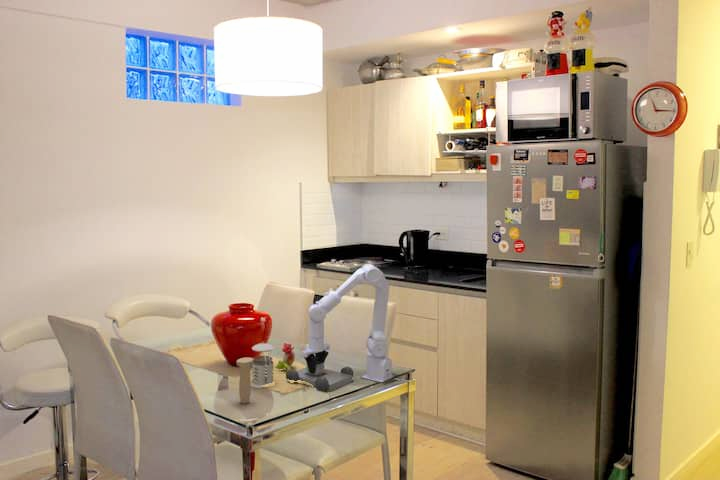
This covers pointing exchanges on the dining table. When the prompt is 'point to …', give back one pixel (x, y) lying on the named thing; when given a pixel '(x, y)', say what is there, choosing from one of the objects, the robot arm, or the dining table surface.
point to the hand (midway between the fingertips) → (315, 371)
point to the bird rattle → (286, 358)
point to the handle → (245, 378)
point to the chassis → (323, 378)
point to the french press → (262, 365)
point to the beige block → (317, 370)
